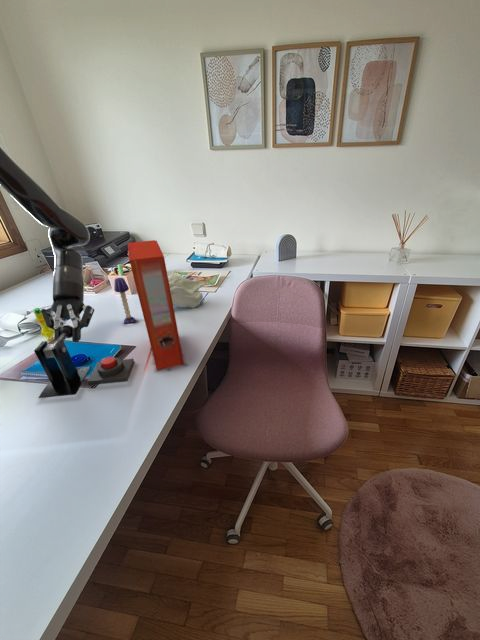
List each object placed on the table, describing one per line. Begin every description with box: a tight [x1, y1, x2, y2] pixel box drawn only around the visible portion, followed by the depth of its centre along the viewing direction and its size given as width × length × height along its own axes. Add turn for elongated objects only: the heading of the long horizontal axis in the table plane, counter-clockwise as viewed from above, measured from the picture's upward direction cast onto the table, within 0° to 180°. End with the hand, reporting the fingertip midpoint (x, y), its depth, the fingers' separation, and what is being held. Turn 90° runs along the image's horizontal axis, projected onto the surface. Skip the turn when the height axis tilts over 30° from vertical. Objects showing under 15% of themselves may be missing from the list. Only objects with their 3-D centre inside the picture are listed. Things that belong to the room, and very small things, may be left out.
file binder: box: [127, 239, 185, 371], centre depth 86 cm, size 8×17×32 cm, turn 22°
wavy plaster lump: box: [168, 275, 206, 309], centre depth 119 cm, size 18×13×16 cm
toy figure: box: [33, 307, 55, 340], centre depth 99 cm, size 7×4×12 cm, turn 26°
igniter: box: [100, 356, 117, 369], centre depth 83 cm, size 4×4×2 cm
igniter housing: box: [86, 357, 135, 386], centre depth 84 cm, size 10×9×4 cm
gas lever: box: [43, 324, 74, 359], centre depth 81 cm, size 13×4×4 cm, turn 8°
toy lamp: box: [113, 277, 137, 325], centre depth 108 cm, size 5×5×17 cm
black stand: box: [33, 340, 92, 399], centre depth 79 cm, size 12×9×13 cm
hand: (67, 342), depth 84 cm, fingers closed on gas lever, 3 cm apart
